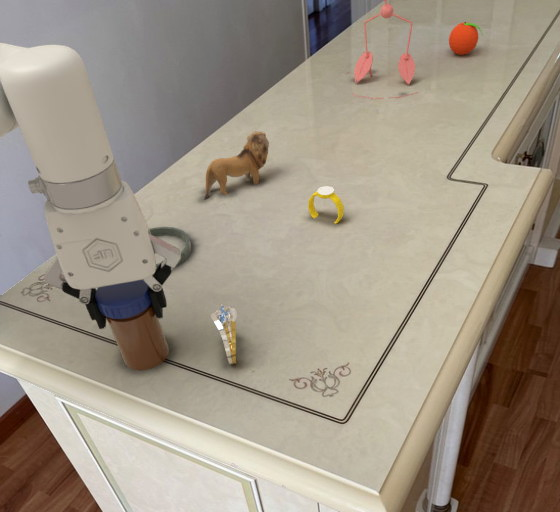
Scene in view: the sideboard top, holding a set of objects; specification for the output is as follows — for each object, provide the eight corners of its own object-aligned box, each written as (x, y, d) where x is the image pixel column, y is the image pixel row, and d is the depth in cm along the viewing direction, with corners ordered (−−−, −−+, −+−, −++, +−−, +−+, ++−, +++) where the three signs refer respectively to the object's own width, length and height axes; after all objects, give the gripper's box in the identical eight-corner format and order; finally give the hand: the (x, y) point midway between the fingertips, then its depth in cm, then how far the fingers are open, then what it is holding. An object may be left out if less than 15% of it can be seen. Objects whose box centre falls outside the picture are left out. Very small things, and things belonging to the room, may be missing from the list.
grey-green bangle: (108, 266, 95) (103, 254, 93) (157, 231, 101) (154, 220, 99) (157, 286, 90) (154, 274, 88) (206, 249, 96) (203, 237, 94)
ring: (246, 374, 74) (236, 326, 68) (221, 378, 74) (209, 330, 68) (244, 338, 79) (235, 290, 73) (221, 341, 79) (209, 294, 73)
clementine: (484, 50, 146) (488, 18, 141) (475, 60, 142) (479, 27, 137) (453, 48, 149) (456, 17, 144) (443, 58, 145) (446, 25, 140)
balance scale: (339, 72, 146) (334, -108, 121) (443, 78, 136) (460, -117, 111) (315, 96, 136) (304, -94, 112) (425, 104, 127) (439, -102, 102)
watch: (306, 223, 98) (303, 190, 94) (315, 215, 99) (312, 182, 95) (338, 231, 95) (336, 197, 91) (346, 222, 97) (345, 189, 92)
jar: (116, 365, 78) (89, 302, 70) (147, 338, 81) (124, 275, 74) (148, 380, 75) (124, 317, 68) (179, 352, 78) (159, 288, 71)
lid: (88, 308, 71) (83, 295, 70) (128, 279, 75) (124, 267, 73) (124, 326, 68) (119, 313, 67) (164, 295, 72) (160, 282, 70)
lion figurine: (263, 171, 113) (257, 124, 106) (279, 180, 109) (274, 133, 103) (197, 199, 108) (186, 151, 101) (211, 210, 104) (201, 161, 98)
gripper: (-9, 215, 57) (59, 349, 70) (166, 185, 58) (202, 323, 71) (5, 180, 63) (65, 310, 75) (165, 153, 63) (198, 286, 76)
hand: (131, 315), depth 73 cm, fingers closed on lid, 6 cm apart
